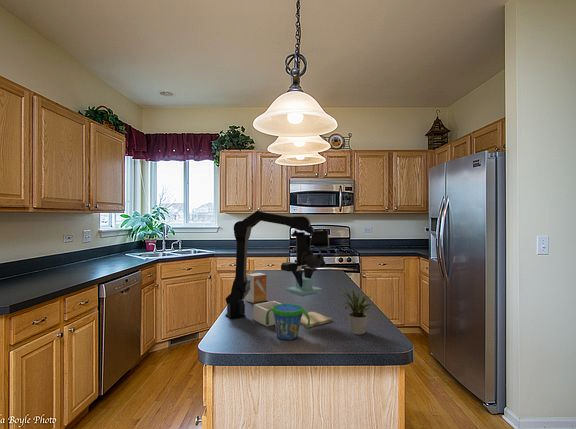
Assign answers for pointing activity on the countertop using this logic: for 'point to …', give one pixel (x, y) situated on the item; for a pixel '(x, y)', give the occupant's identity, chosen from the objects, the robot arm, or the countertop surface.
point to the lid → (304, 288)
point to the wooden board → (314, 319)
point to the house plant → (357, 313)
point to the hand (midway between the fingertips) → (304, 286)
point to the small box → (257, 287)
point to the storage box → (264, 312)
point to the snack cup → (287, 320)
